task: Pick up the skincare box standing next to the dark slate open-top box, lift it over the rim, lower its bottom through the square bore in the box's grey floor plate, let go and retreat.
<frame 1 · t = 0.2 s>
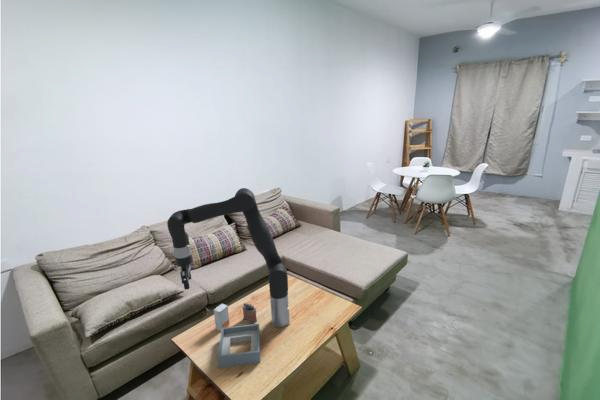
hand: (188, 283, 142), 28 cm above the table, fingers open, 8 cm apart
bore box: (240, 349, 139), on the table
lighter: (250, 320, 158), on the table
skincare box: (223, 327, 154), on the table
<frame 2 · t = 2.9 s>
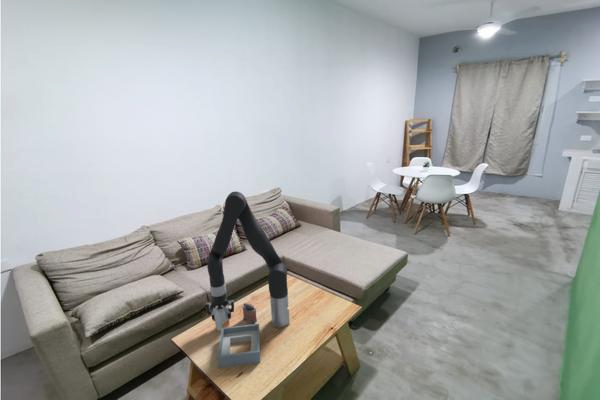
hand: (221, 319, 152), 5 cm above the table, fingers closed on skincare box, 7 cm apart
skincare box: (223, 327, 154), on the table, touching gripper
everything else where it was.
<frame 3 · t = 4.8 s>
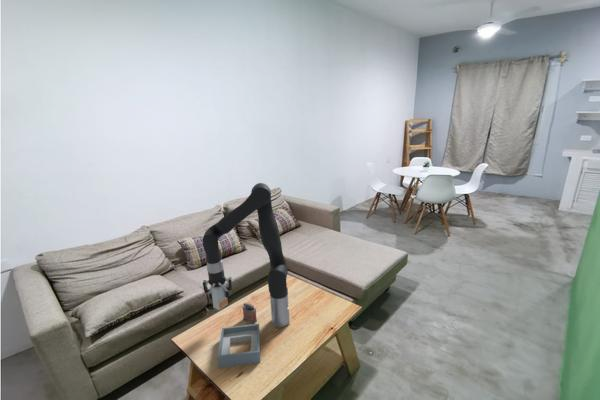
hand: (219, 297, 148), 18 cm above the table, fingers closed on skincare box, 7 cm apart
skincare box: (220, 306, 150), point 13 cm above the table, touching gripper
everything else where it was.
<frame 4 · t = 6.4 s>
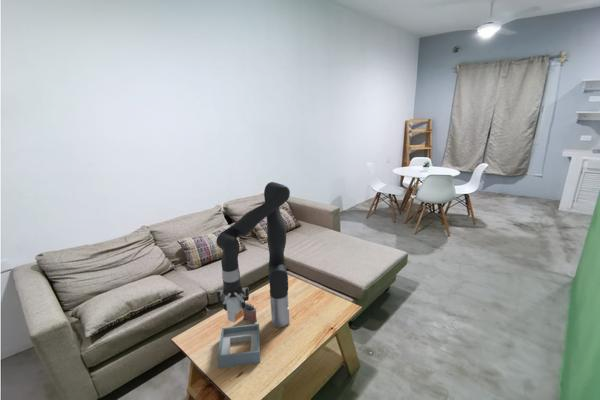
hand: (234, 308, 134), 22 cm above the table, fingers closed on skincare box, 7 cm apart
skincare box: (236, 318, 135), point 17 cm above the table, touching gripper
everything else where it was.
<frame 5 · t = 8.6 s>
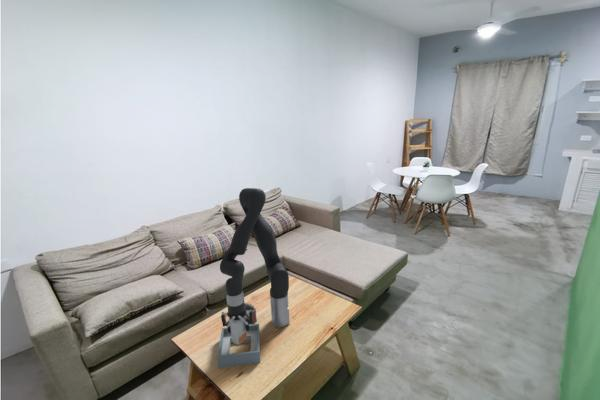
hand: (238, 331, 136), 11 cm above the table, fingers closed on skincare box, 7 cm apart
skincare box: (239, 340, 137), point 5 cm above the table, touching gripper
everything else where it was.
when the fingers open (6 cm above the table, at t = 10.2 s): skincare box stays where it is, resting in bore box.
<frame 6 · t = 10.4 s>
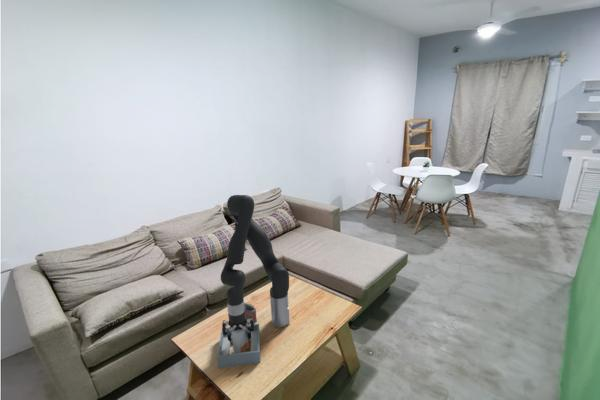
hand: (239, 339, 137), 6 cm above the table, fingers open, 8 cm apart
skincare box: (241, 349, 139), resting in bore box
everything else where it was.
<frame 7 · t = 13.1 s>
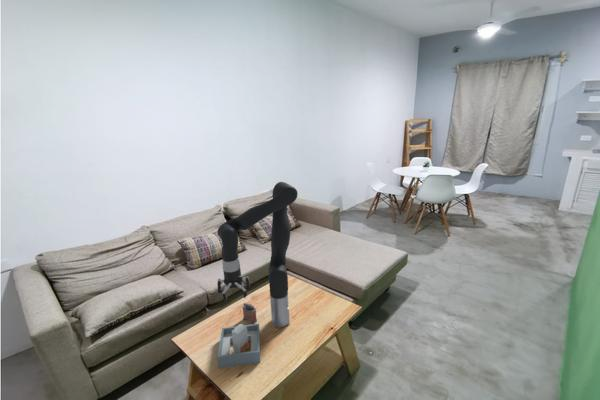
hand: (235, 298, 136), 25 cm above the table, fingers open, 8 cm apart
nothing on the table moved.
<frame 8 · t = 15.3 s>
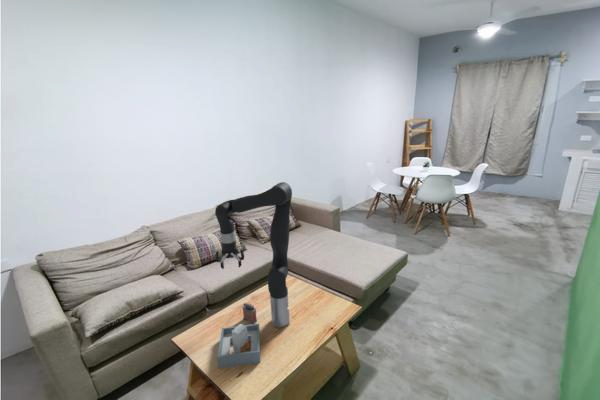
hand: (231, 267, 156), 28 cm above the table, fingers open, 8 cm apart
nothing on the table moved.
at the end: skincare box 0.3 cm off-centre on the bore box, point 0.0 cm above the bore box's base; skincare box tilted 0°; the gripper is holding nothing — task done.
